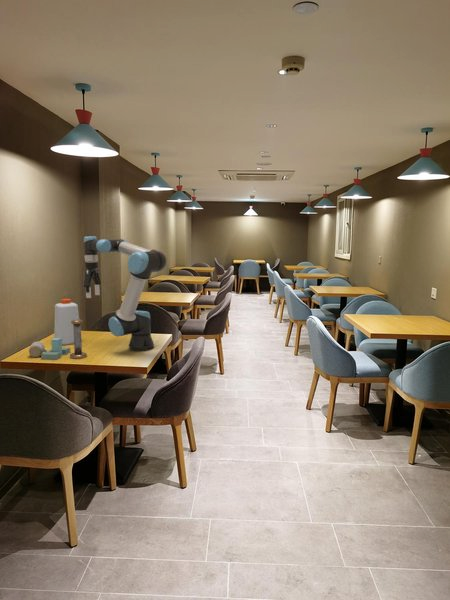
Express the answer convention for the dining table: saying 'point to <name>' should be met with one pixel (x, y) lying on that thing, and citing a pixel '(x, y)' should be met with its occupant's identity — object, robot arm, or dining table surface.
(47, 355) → the teal z-shaped block
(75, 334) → the bobbin
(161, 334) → the dining table surface
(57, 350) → the peg
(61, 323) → the plastic bottle
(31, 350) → the ceramic mug
